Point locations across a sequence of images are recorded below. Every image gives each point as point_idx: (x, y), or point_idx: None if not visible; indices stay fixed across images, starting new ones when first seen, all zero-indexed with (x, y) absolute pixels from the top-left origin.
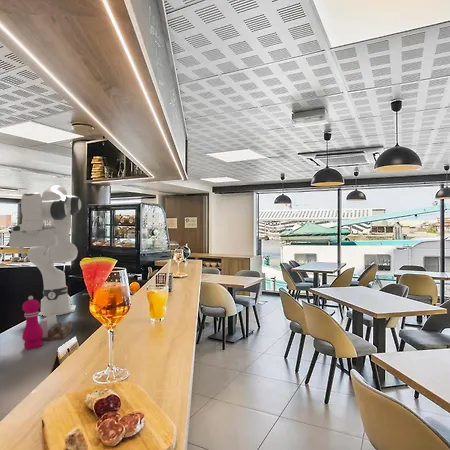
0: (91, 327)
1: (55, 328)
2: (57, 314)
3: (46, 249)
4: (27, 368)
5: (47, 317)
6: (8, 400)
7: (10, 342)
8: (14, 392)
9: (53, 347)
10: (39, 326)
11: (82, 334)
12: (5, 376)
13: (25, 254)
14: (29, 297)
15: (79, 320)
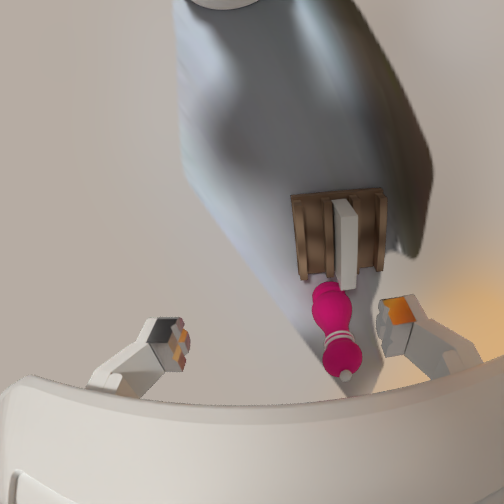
0: (423, 185)
1: (359, 246)
2: (251, 1)
3: (428, 374)
4: None
5: (347, 261)
6: None
7: (257, 259)
8: None
9: (369, 305)
10: (349, 319)
11: (411, 239)
12: (334, 379)
13: (176, 346)
14: (344, 381)
15: (368, 87)
